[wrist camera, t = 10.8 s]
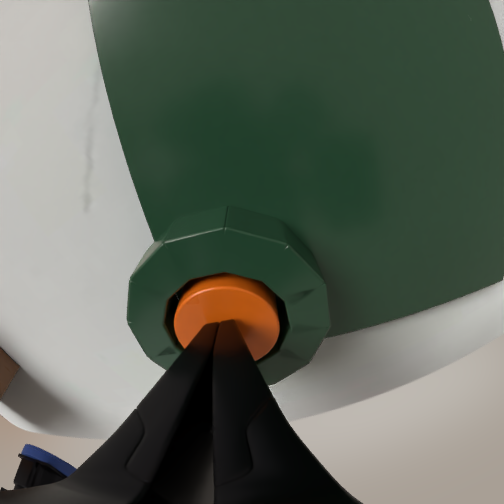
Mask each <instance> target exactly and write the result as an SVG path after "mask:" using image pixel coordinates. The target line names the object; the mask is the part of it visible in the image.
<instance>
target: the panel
mask: <svg viewBox="0 0 504 504" xmlns="http://www.w3.org/2000/svg"><path fill="white" fill-rule="evenodd" d="M19 368H20V366H19V365H18V364H16V363H15V362H14V361H13V360H12V359H11V358H10V357H9V356H8V355H7V354H6V353H5V352H4V351H3V350H2V349H1V348H0V400H1V398H2V396H3V395H4V393H5V391H6V389H7V388H8V386H9V384H10V383H11V381H12V379H13V378H14V376H15V374H16V373H17V371H18V369H19Z"/></svg>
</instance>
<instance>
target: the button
mask: <svg viewBox="0 0 504 504" xmlns="http://www.w3.org/2000/svg"><path fill="white" fill-rule="evenodd" d="M230 319H234V320H235V322H236V324H237V326H238V328H239V330H240V332H241V334H242V336H243V338H244V340H245V342H246V344H247V346H248V348H249V350H250V352H251V354H252V356H253V358H254V360H255V361H256V360H258V359H260V358H262V357H263V356H264V355H266V354H267V353H268V352H269V351H270V350H271V349H272V348H273V346H274V345H275V343H276V341H277V339H278V336H279V331H280V324H279V317H278V310H277V303H276V296H275V293H274V292H273V291H272V290H271V289H270V288H269V287H267V286H266V285H265V284H264V283H263V282H262V281H258V280H254V279H250V278H246V277H242V276H238V275H234V274H230V273H226V272H224V273H219V274H214V275H210V276H205V277H200V278H196V279H191V280H189V281H188V282H187V283H186V284H185V285H184V288H183V291H182V294H181V297H180V300H179V303H178V307H177V310H176V313H175V317H174V329H175V333H176V336H177V338H178V340H179V342H180V343H181V345H182V346H183V347H184V348H186V347H187V345H188V344H189V343H190V342H191V340H192V339H193V338H194V337H195V336H196V334H197V333H198V332H199V331H200V329H201V328H202V327H203V326H204V325H205V324H207V323H213V322H219V323H220V322H221V321H224V320H230Z"/></svg>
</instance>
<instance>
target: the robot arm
mask: <svg viewBox="0 0 504 504" xmlns="http://www.w3.org/2000/svg"><path fill="white" fill-rule="evenodd" d="M18 457H20V458H21V459H22V460H21V462H20V465H19V468H18V470H17V473H16V476H15V479H14V484H15V487H14V490H6V489H4V488H1V490H0V504H363V503H361V502H360V501H359V500H357V499H356V498H355V497H353V496H352V495H351V494H350V493H349V492H347V491H346V490H345V489H344V488H343V487H342V486H341V485H340V484H339V483H338V482H337V481H336V480H335V479H334V478H333V477H332V476H331V474H330V473H329V472H328V471H327V470H326V469H325V468H324V466H323V465H322V464H321V463H320V462H319V461H318V460H317V458H316V457H315V456H314V455H313V454H312V452H311V451H310V450H309V449H308V448H307V446H306V445H305V444H304V443H303V442H302V440H301V439H300V438H299V437H298V436H297V434H296V433H295V431H294V430H293V428H292V427H291V426H290V424H289V423H288V421H287V420H286V418H285V416H284V415H283V413H282V411H281V410H280V408H279V406H278V404H277V402H276V400H275V398H274V397H273V395H272V393H271V391H270V389H269V387H268V385H267V383H266V381H265V380H264V378H263V376H262V374H261V372H260V370H259V368H258V366H257V364H256V362H255V360H254V358H253V356H252V354H251V352H250V350H249V348H248V346H247V344H246V342H245V340H244V338H243V336H242V334H241V332H240V330H239V328H238V326H237V324H236V322H235V320H234V319H230V320H224V321H221V322H220V323H219V322H213V323H207V324H205V325H204V326H203V327H202V328H201V329H200V331H199V332H198V333H197V334H196V336H195V337H194V338H193V339H192V340H191V342H190V343H189V344H188V345H187V347H186V348H185V349H184V350H183V351H182V353H181V354H180V355H179V356H178V358H177V359H176V360H175V361H174V362H173V364H172V365H171V366H170V367H169V368H168V370H167V371H166V372H165V373H164V375H163V376H162V377H161V378H160V379H159V381H158V382H157V383H156V384H155V385H154V387H153V388H152V389H151V390H150V392H149V393H148V394H147V395H146V396H145V398H144V399H143V400H142V401H141V402H140V404H139V405H138V406H137V409H134V411H133V412H132V413H131V414H130V415H129V417H128V418H127V419H126V420H125V421H124V422H123V424H122V425H121V426H120V427H119V428H118V429H117V430H116V432H115V433H114V434H113V435H112V436H111V437H110V438H109V439H108V440H107V441H106V442H105V443H104V444H103V445H102V446H101V447H100V448H99V449H98V450H97V451H96V452H95V453H94V454H92V455H91V457H89V458H88V459H87V460H86V461H85V462H84V463H83V464H82V465H81V466H80V467H79V468H78V469H77V470H76V471H74V472H73V473H72V474H71V475H70V476H68V477H67V476H66V475H64V474H63V473H61V472H60V471H59V470H57V469H56V468H54V467H53V466H52V465H50V464H48V463H46V462H43V461H40V460H37V459H34V458H31V457H28V456H25V455H22V454H19V455H18Z"/></svg>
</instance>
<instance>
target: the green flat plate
mask: <svg viewBox="0 0 504 504" xmlns="http://www.w3.org/2000/svg"><path fill="white" fill-rule="evenodd" d="M88 2H89V8H90V14H91V20H92V26H93V32H94V37H95V42H96V47H97V52H98V57H99V61H100V66H101V70H102V74H103V79H104V83H105V87H106V91H107V95H108V99H109V103H110V107H111V110H112V114H113V118H114V121H115V125H116V128H117V132H118V135H119V139H120V142H121V145H122V149H123V152H124V155H125V158H126V161H127V165H128V168H129V171H130V174H131V177H132V180H133V183H134V186H135V189H136V192H137V195H138V198H139V200H140V203H141V206H142V209H143V212H144V214H145V217H146V220H147V223H148V225H149V228H150V231H151V233H152V236H153V239H154V241H155V242H154V243H153V244H152V245H151V246H150V248H149V249H148V250H147V251H146V253H145V254H144V256H143V258H142V259H141V261H140V262H139V264H138V265H137V267H136V269H135V270H134V272H133V274H132V275H131V277H130V280H129V289H128V303H127V321H128V325H129V327H130V329H131V331H132V332H133V334H134V336H135V337H136V339H137V341H138V342H139V344H140V346H141V347H142V349H143V351H144V352H145V354H146V356H147V357H149V358H150V360H152V361H153V362H155V363H156V364H158V365H159V366H161V367H162V368H164V369H165V370H168V368H169V367H170V366H171V365H172V364H173V362H174V361H175V360H176V359H177V358H178V356H179V355H180V354H181V353H182V351H183V350H184V349H185V348H184V347H183V346H182V345H181V343H180V342H179V340H178V338H177V336H176V333H175V329H174V317H175V313H176V310H177V307H178V303H179V300H180V297H181V294H182V291H183V288H184V285H185V284H186V283H187V282H188V281H189V280H191V279H196V278H200V277H205V276H210V275H214V274H219V273H224V272H226V273H230V274H234V275H238V276H242V277H246V278H250V279H254V280H258V281H262V282H263V283H264V284H265V285H266V286H267V287H269V288H270V289H271V290H272V291H273V292H274V293H275V296H276V303H277V310H278V317H279V324H280V331H279V336H278V339H277V341H276V343H275V345H274V346H273V348H272V349H271V350H270V351H269V352H268V353H267V354H266V355H264V356H263V357H262V358H260V359H258V360H256V361H255V362H256V364H257V366H258V368H259V370H260V372H261V374H262V376H263V378H264V380H265V381H266V383H267V385H272V384H275V383H277V382H279V381H281V380H282V379H284V378H286V377H287V376H289V375H291V374H292V373H294V372H296V371H297V370H299V369H301V368H302V367H304V366H305V365H307V364H309V362H310V361H311V360H312V358H313V356H314V355H315V353H316V351H317V350H318V348H319V346H320V345H321V343H322V341H323V339H325V338H329V337H333V336H337V335H341V334H345V333H349V332H353V331H356V330H360V329H364V328H368V327H371V326H375V325H378V324H382V323H385V322H388V321H392V320H395V319H398V318H402V317H405V316H408V315H411V314H414V313H417V312H420V311H423V310H426V309H429V308H432V307H435V306H438V305H441V304H444V303H446V302H449V301H452V300H455V299H457V298H460V297H463V296H465V295H468V294H470V293H473V292H475V291H478V290H480V289H483V288H485V287H488V286H490V285H493V284H495V283H497V282H500V281H502V280H503V277H504V50H503V46H502V42H501V38H500V34H499V31H498V27H497V24H496V21H495V17H494V14H493V11H492V8H491V5H490V3H489V0H88ZM177 297H178V298H177ZM178 299H179V300H178Z"/></svg>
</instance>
